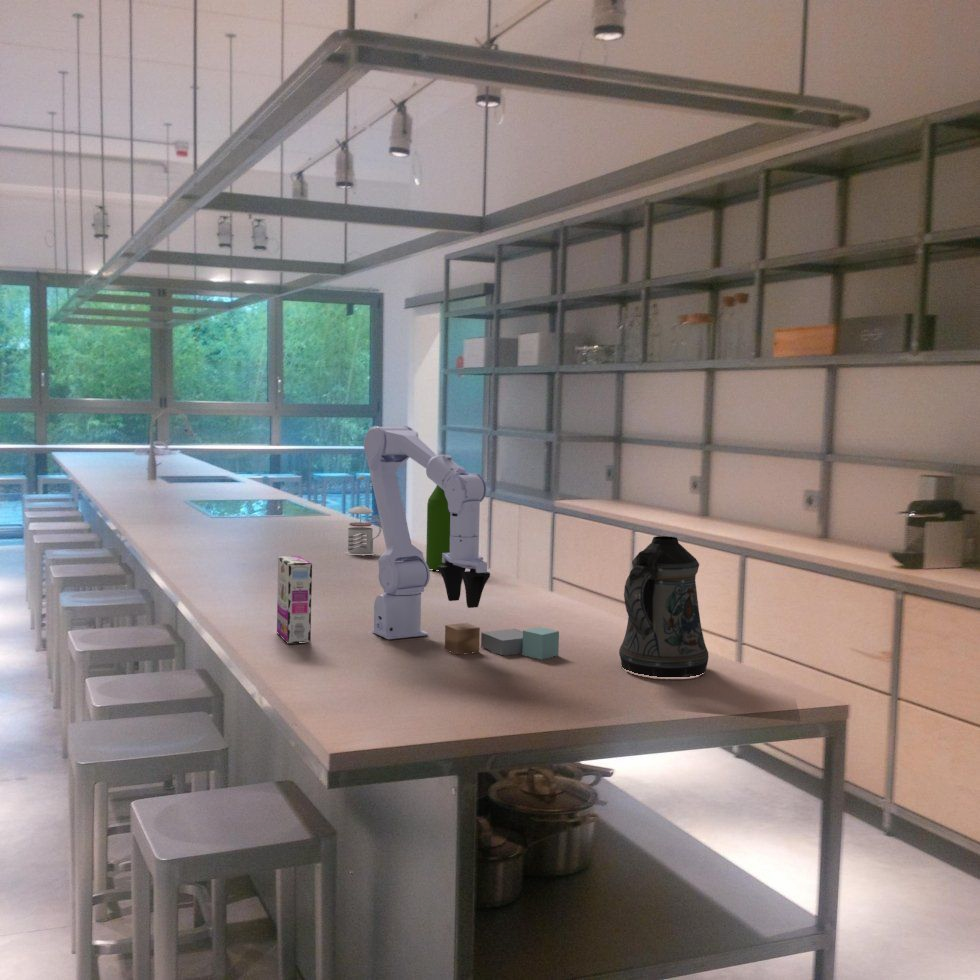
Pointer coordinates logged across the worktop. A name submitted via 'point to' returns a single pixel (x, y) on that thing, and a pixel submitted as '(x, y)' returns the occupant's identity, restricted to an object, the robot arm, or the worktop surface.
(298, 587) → the candy bar box
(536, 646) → the teal cube
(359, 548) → the french press
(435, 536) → the wine bottle
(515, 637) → the base block
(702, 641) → the beer stein
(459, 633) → the walnut cube
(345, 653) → the worktop surface
